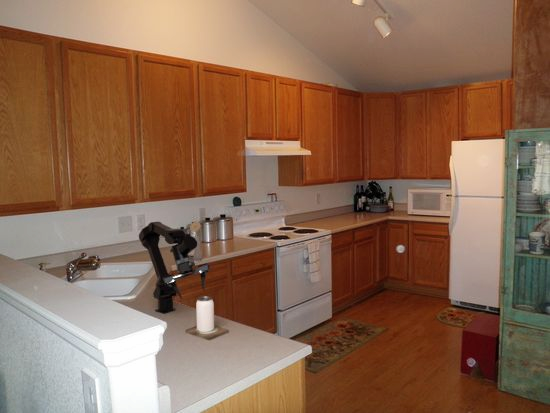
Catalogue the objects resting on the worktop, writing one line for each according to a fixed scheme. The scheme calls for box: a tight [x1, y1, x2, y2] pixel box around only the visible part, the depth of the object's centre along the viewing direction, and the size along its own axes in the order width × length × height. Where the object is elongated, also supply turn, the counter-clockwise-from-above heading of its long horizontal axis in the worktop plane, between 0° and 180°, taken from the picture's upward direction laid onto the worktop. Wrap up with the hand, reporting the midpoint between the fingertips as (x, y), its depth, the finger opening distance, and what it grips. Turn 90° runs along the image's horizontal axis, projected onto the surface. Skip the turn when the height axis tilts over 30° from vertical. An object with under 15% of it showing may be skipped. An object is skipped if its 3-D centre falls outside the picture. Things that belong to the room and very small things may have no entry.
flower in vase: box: [188, 220, 203, 257], centre depth 316 cm, size 13×11×25 cm
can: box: [195, 296, 215, 332], centre depth 167 cm, size 6×6×12 cm
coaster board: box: [185, 324, 230, 341], centre depth 168 cm, size 13×10×1 cm
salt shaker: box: [193, 240, 203, 261], centre depth 301 cm, size 6×6×13 cm
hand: (192, 294), depth 176 cm, fingers open, 9 cm apart
